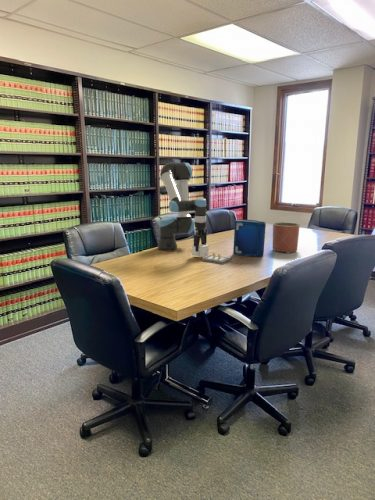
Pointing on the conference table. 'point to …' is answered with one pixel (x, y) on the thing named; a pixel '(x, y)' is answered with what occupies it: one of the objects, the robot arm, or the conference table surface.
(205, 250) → the block
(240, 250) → the book
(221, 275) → the conference table surface
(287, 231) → the planter
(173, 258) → the conference table surface
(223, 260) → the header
